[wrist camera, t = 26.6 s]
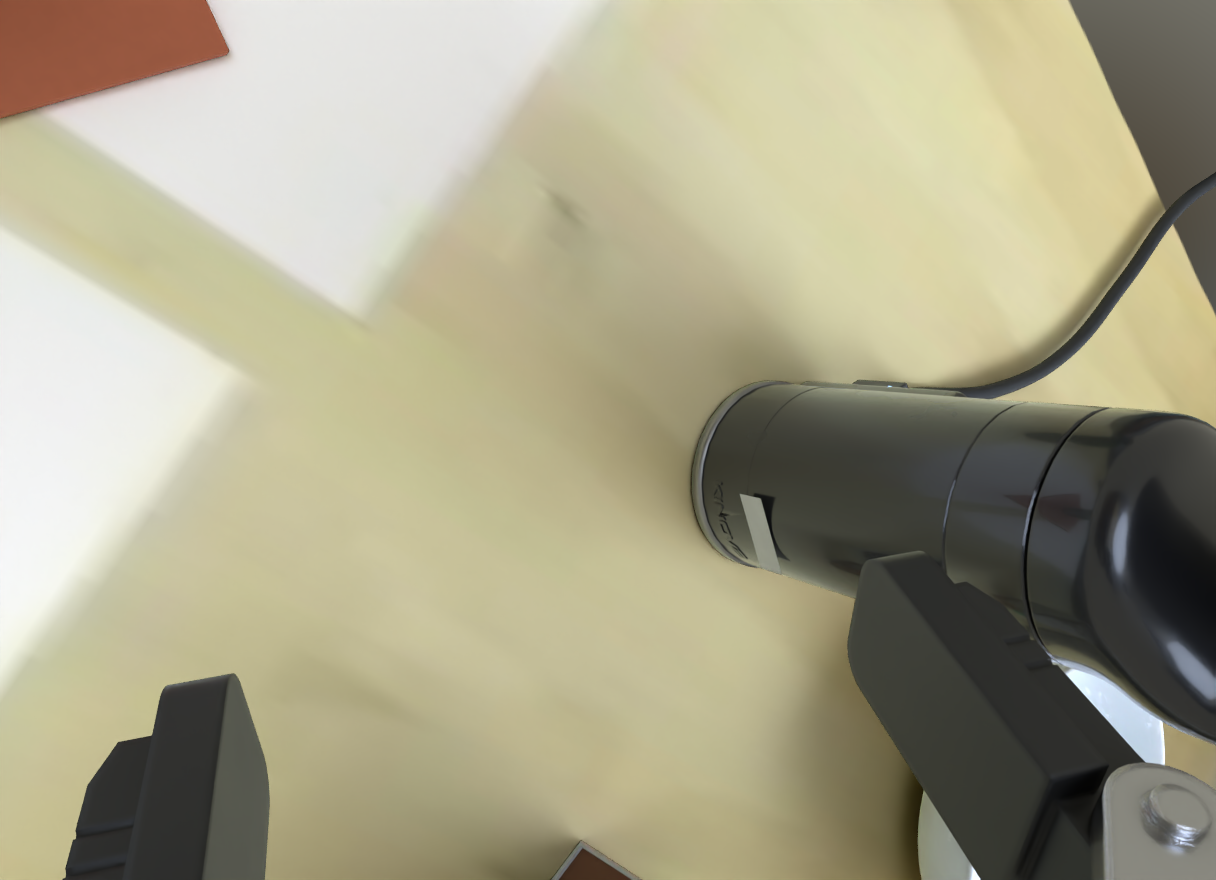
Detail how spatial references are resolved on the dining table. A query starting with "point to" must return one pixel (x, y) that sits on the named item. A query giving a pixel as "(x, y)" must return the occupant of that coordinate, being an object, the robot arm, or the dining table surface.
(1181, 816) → the robot arm
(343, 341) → the dining table surface
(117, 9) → the mat
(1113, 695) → the serving bowl
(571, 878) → the food container
